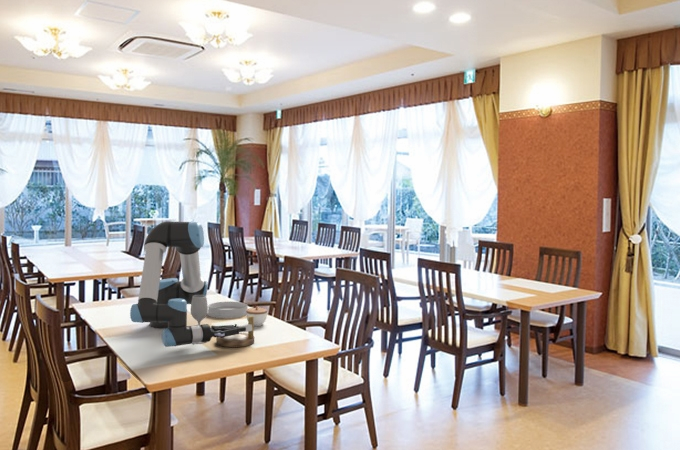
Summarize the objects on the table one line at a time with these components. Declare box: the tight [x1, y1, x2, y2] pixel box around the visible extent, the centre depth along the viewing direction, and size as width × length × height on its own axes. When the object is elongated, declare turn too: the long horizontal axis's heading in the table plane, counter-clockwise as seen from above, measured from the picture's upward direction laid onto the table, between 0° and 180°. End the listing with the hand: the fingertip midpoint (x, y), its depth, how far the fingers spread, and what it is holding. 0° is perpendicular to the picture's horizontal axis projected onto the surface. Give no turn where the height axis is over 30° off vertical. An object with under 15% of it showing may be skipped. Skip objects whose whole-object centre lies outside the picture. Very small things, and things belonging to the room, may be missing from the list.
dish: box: [207, 301, 249, 319], centre depth 298 cm, size 22×22×5 cm
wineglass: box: [190, 294, 209, 345], centre depth 241 cm, size 8×8×21 cm
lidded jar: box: [246, 306, 268, 327], centre depth 275 cm, size 11×11×9 cm
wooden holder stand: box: [215, 316, 255, 348], centre depth 241 cm, size 17×17×12 cm
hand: (251, 327), depth 239 cm, fingers closed
